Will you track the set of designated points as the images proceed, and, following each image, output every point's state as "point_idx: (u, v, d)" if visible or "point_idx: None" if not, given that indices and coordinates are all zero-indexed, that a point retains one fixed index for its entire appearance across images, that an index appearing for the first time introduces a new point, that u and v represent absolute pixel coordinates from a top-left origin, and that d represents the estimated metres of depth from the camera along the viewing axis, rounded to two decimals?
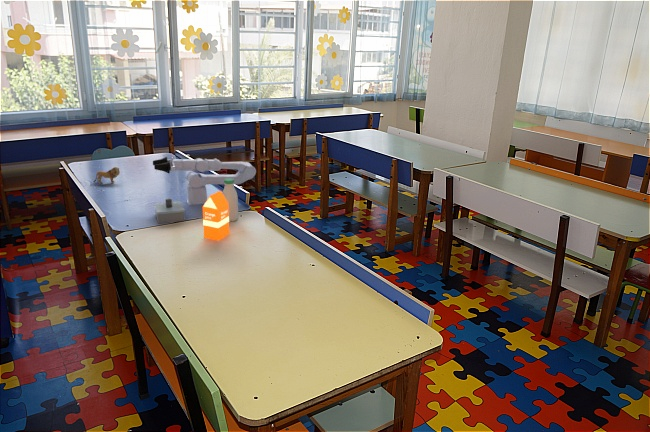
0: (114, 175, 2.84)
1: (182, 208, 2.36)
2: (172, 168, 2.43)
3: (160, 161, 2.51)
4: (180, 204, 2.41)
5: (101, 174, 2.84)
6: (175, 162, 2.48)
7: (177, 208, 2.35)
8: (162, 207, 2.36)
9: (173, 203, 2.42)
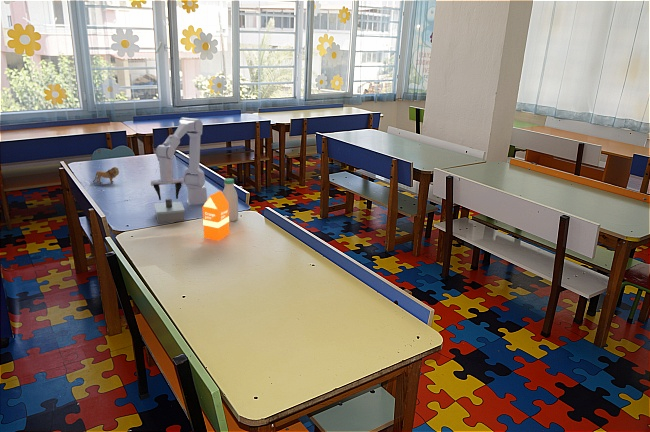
0: (113, 175, 2.84)
1: (182, 208, 2.36)
2: None
3: None
4: (180, 204, 2.41)
5: (100, 174, 2.84)
6: (172, 179, 2.32)
7: (177, 208, 2.35)
8: (162, 207, 2.36)
9: (173, 203, 2.42)
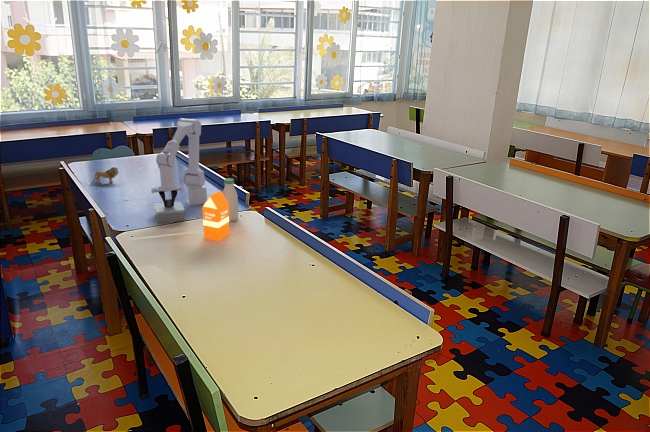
0: (112, 175, 2.84)
1: (182, 208, 2.36)
2: (183, 188, 2.37)
3: (164, 199, 2.35)
4: (180, 204, 2.41)
5: (100, 174, 2.84)
6: (172, 186, 2.33)
7: (177, 208, 2.35)
8: (162, 207, 2.36)
9: None
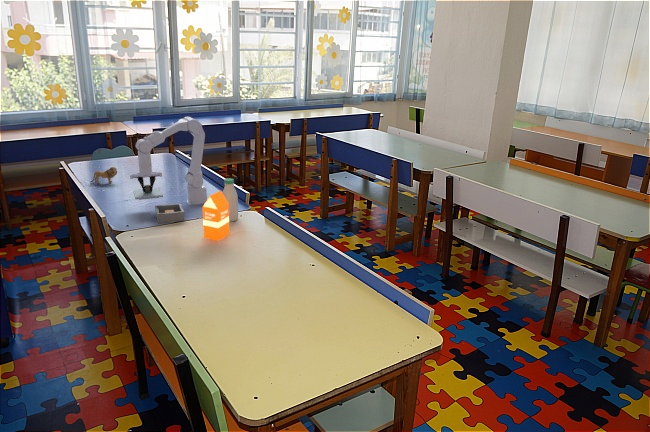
0: (111, 175, 2.84)
1: (160, 193, 2.43)
2: (161, 174, 2.44)
3: None
4: (159, 190, 2.48)
5: (98, 174, 2.83)
6: (150, 172, 2.40)
7: (156, 194, 2.43)
8: (141, 193, 2.43)
9: (152, 189, 2.49)
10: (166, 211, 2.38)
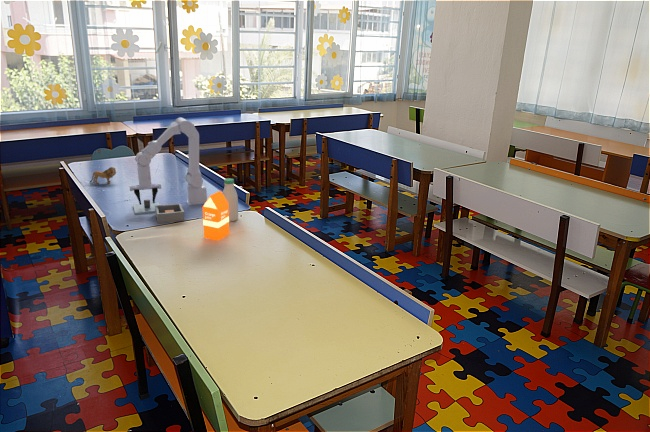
0: (110, 175, 2.84)
1: None
2: None
3: (139, 197, 2.45)
4: None
5: (97, 174, 2.83)
6: (150, 184, 2.43)
7: None
8: (141, 207, 2.47)
9: (151, 204, 2.53)
10: (166, 211, 2.38)
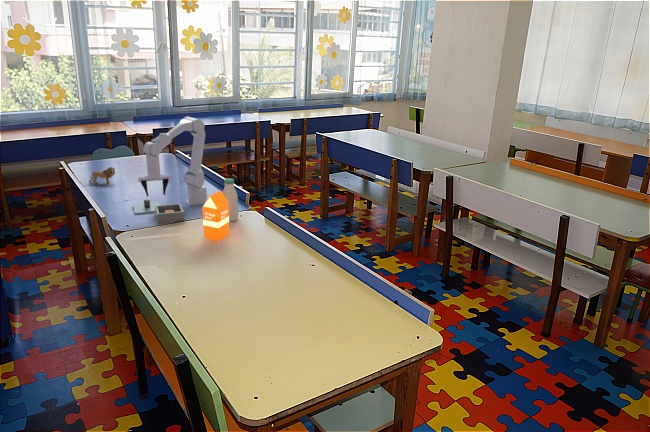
0: (109, 175, 2.84)
1: None
2: (170, 178, 2.41)
3: (146, 189, 2.38)
4: None
5: (96, 174, 2.83)
6: (159, 175, 2.37)
7: None
8: (140, 208, 2.47)
9: (151, 204, 2.53)
10: (166, 211, 2.38)
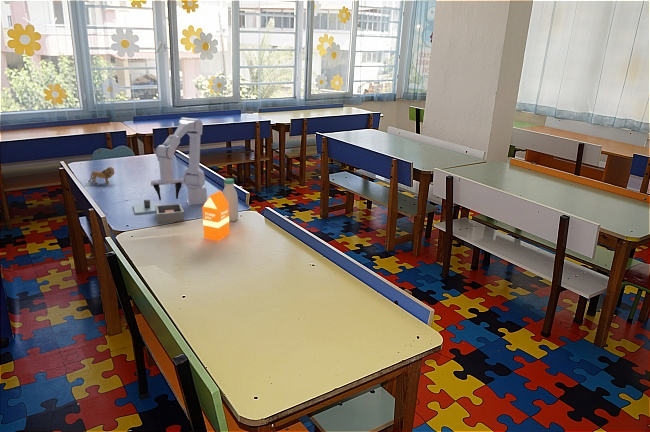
0: (108, 175, 2.83)
1: None
2: None
3: (159, 193, 2.33)
4: None
5: (96, 174, 2.83)
6: (172, 179, 2.31)
7: None
8: (141, 207, 2.47)
9: (151, 204, 2.53)
10: (166, 211, 2.38)
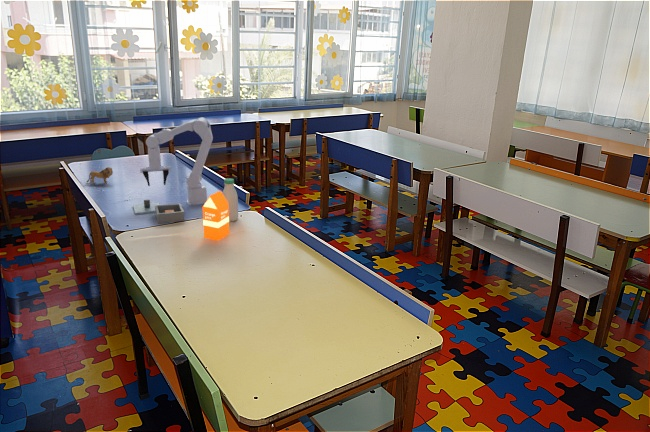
0: (107, 175, 2.83)
1: None
2: None
3: None
4: (158, 204, 2.52)
5: (94, 174, 2.83)
6: (159, 166, 2.52)
7: None
8: (140, 208, 2.47)
9: (151, 204, 2.53)
10: (166, 211, 2.38)
